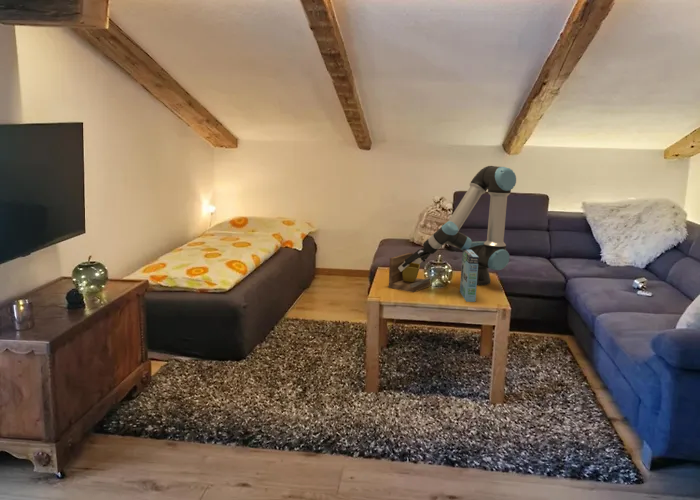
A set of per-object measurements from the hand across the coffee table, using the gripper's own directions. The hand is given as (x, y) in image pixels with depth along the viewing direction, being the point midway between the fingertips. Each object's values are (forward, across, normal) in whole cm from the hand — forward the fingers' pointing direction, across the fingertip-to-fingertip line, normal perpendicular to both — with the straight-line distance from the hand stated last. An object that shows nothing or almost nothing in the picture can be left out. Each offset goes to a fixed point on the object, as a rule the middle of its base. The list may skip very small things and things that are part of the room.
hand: (406, 268), depth 329 cm
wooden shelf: (+4, +1, -10) cm, 11 cm away
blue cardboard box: (-18, +2, -32) cm, 37 cm away
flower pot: (+4, 0, -6) cm, 7 cm away
